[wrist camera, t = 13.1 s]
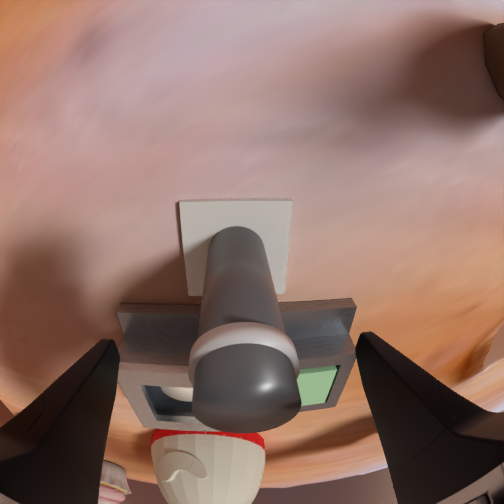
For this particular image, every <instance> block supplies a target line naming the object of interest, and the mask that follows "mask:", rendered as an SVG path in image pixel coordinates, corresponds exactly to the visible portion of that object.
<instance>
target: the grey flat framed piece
mask: <svg viewBox="0 0 504 504" xmlns="http://www.w3.org/2000/svg"><path fill="white" fill-rule="evenodd" d="M278 304H279V308H280V312H281V316H282V320H283V325H284V329H285V333H286V335H287V336H288V337H289V338H290V339H291V340H292V342H293V344H294V346H295V349H296V353H297V357H298V360H299V364H300V369H309V368H318V367H326V366H334V365H335V366H336V368H337V371H336V374H335V377H334V379H333V382H332V385H331V387H330V390H329V393H328V395H327V398H326V400H325V403H320V404H313V405H305V406H301V408H300V411H299V412H302V411H310V410H317V409H324V408H330V407H335V406H336V404H337V402H338V400H339V397H340V395H341V393H342V391H343V388H344V386H345V384H346V381H347V379H348V377H349V374H350V372H351V369H352V367H353V364H354V362H355V359H356V354H355V346H354V344H353V342H352V339H351V337H350V335H349V332H350V328H351V325H352V322H353V318H354V315H355V311H356V308H357V306H356V305H355V303H354V301H353V299H352V298H348V299H335V300H319V301H302V302H282V303H278ZM200 311H201V305H173V304H123V303H121V304H120V306H119V308H118V310H117V312H116V313H117V316H118V319H119V322H120V325H121V328H122V331H123V334H124V335H123V338H122V341H121V343H120V346H119V349H118V352H119V354H120V364H119V372H118V382H119V384H120V386H121V388H122V390H123V392H124V394H125V395H126V397H127V399H128V401H129V403H130V405H131V406H132V408H133V410H134V412H135V413H136V415H137V417H138V418H139V420H140V422H141V423H142V425H143V427H147V428H157V429H168V430H183V431H219V430H215V429H212V428H210V427H208V426H206V425H204V424H202V423H201V422H199V421H198V420H197V419H196V418H195V416H194V415H193V412H192V402H187V401H180V400H176V399H173V398H171V397H169V396H168V395H166V394H165V393H164V392H163V391H162V389H161V387H160V386H163V387H183V388H193V386H192V384H191V382H190V380H189V377H188V368H189V359H190V352H191V349H192V346H193V345H194V343H195V342H196V341H197V339H198V329H199V320H200Z"/></svg>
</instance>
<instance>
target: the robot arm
mask: <svg viewBox="0 0 504 504" xmlns="http://www.w3.org/2000/svg"><path fill="white" fill-rule="evenodd" d="M355 354H356V358H357V363H358V367H359V371H360V376H361V380H362V385H363V388H364V391H365V394H366V397H367V400H368V403H369V406H370V409H371V412H372V415H373V418H374V422H375V425H376V428H377V431H378V434H379V437H380V441H381V444H382V447H383V451H384V454H385V457H386V461H387V464H388V468H389V471H390V475H391V479H392V483H393V488H394V490H395V494H396V498H397V502H398V504H504V412H503V413H495V412H489V411H487V410H484V409H482V408H481V407H479V406H477V405H476V404H474V403H472V402H471V401H469V400H467V399H466V398H464V397H462V396H461V395H459V394H457V393H456V392H454V391H453V390H451V389H450V388H448V387H447V386H446V385H444V384H443V383H441V382H440V381H439V380H437V379H436V378H435V377H433V376H432V375H430V374H429V373H428V372H426V371H425V370H424V369H422V368H421V367H420V366H418V365H417V364H415V363H414V362H413V361H411V360H410V359H409V358H407V357H406V356H405V355H403V354H402V353H400V352H399V351H398V350H396V349H395V348H394V347H392V346H391V345H390V344H388V343H387V342H385V341H384V340H383V339H381V338H380V337H379V336H377V335H376V334H374V333H373V332H371V331H369V332H362V333H361V334H360V336H359V339H358V342H357V345H356V348H355ZM119 364H120V354H119V352H118V349H117V347H116V344H115V342H114V340H113V339H105V338H104V339H102V340H100V341H99V342H98V343H97V344H96V345H95V346H93V347H92V348H91V349H90V350H89V351H88V352H87V353H86V354H84V355H83V356H82V357H81V358H80V359H79V360H78V361H77V362H76V363H74V364H73V365H72V366H71V367H70V368H69V369H68V370H67V371H66V372H64V373H63V374H62V375H61V376H60V377H59V378H58V379H57V380H56V381H55V382H54V383H52V384H51V385H50V386H49V387H48V388H47V389H46V390H45V391H44V392H43V393H42V394H40V395H39V396H38V397H37V398H36V399H35V400H34V401H33V402H32V403H31V404H30V405H28V406H27V407H26V408H25V409H23V410H22V411H21V412H20V413H19V414H17V415H16V416H15V417H13V418H12V419H11V420H9V421H8V422H7V423H6V424H4V425H3V426H2V427H0V504H98V498H99V488H100V480H101V472H102V465H103V459H104V452H105V446H106V441H107V435H108V430H109V425H110V420H111V415H112V410H113V405H114V401H115V396H116V389H117V380H118V372H119Z"/></svg>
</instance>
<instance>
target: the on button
mask: <svg viewBox="0 0 504 504" xmlns="http://www.w3.org/2000/svg"><path fill="white" fill-rule="evenodd" d="M336 371H337V368H336V366H335V365H334V366H326V367H318V368H309V369H300V373H299V376H298V378H297V384H298V388H299V392H300V397H301V402H302V404H301V406H305V405H313V404H320V403H325V400H326V398H327V395H328V393H329V390H330V387H331V385H332V382H333V379H334V377H335V374H336Z"/></svg>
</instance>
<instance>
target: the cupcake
mask: <svg viewBox="0 0 504 504" xmlns="http://www.w3.org/2000/svg"><path fill="white" fill-rule="evenodd" d="M128 493H130V494H131V491H130V489H129V487H128V484H127V479H126V472H125V469H124V468H122V467H120V466H119V465H116V464H114V463H111V462H108V461H105V460H103V465H102V472H101V480H100V488H99V498H98V504H119V503H120V502H121V501H124V499H125V494H128Z"/></svg>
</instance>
